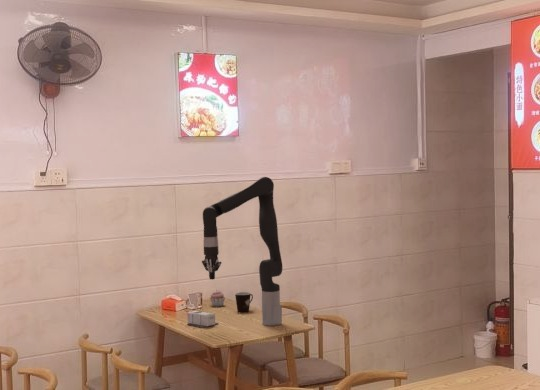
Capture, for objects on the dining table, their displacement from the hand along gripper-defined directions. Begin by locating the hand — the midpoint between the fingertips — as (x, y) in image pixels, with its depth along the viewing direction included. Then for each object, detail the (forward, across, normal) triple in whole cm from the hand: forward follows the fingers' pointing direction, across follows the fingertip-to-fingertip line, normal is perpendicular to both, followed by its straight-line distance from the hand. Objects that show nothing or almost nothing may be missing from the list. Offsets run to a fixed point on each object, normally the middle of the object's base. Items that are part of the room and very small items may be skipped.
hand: (212, 279), depth 359 cm
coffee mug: (+24, +11, -34) cm, 43 cm away
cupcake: (+23, +35, -35) cm, 55 cm away
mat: (+23, +5, +3) cm, 24 cm away
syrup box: (+20, -2, +3) cm, 21 cm away
